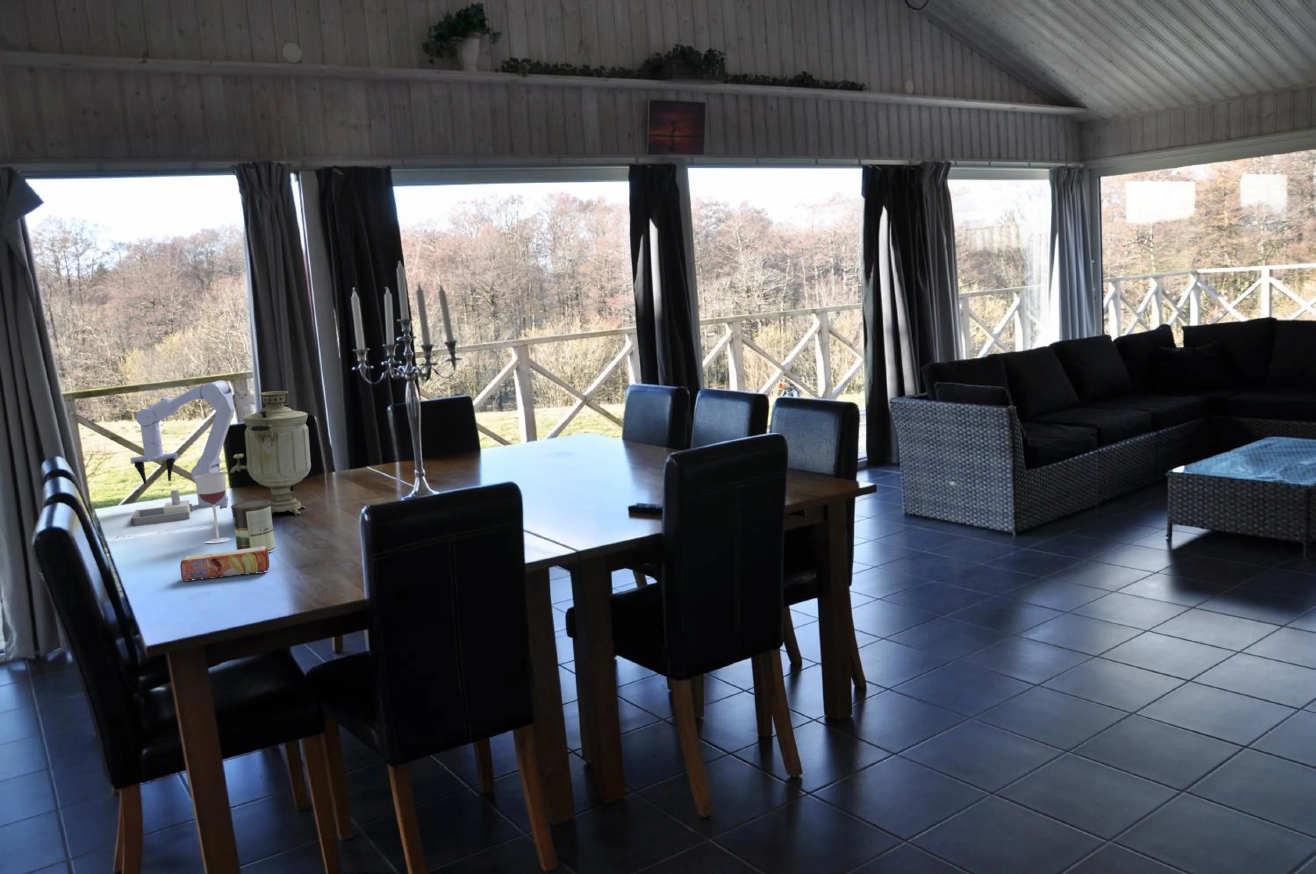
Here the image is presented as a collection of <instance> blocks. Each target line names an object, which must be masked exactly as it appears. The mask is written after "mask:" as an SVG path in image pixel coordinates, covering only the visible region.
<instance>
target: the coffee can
mask: <svg viewBox="0 0 1316 874" xmlns="http://www.w3.org/2000/svg"><path fill="white" fill-rule="evenodd" d="M270 503H271V500H268V499H252V500H250V499H249V500H244V501H240V502H236V503H234V504H231V506H230V508H231V512H232V513H231V514H232V520H233V529H234V535H235V536H234V537H235V544H236V550H240V549H247V548H256V547H262V546H265V547H266V548H267V550H268V551H271V550H273V549H275V550H276V544H275V536H274V527H273V518H272V514H271V508H270Z"/></svg>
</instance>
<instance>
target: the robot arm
mask: <svg viewBox="0 0 1316 874" xmlns="http://www.w3.org/2000/svg"><path fill="white" fill-rule="evenodd" d="M197 399H198V400H205V401H206V402H207V404H209V405H210V406H212V407H213V408H214V410H215V412H216V413H215V416H214V418H213V422H212V426H211V429H210V431H209V435H208V437H207V441H206V443H205V446H204V449H203V453H202V454H201V456H200V457H199V458H198V460H197V462H196V464H195V466H193V467H192V469H191V470H190V471H191V472H190V477H191V479H192V480H193V481H194V482H195V476H197V475H201V474H206V473H214V472H221V466H220V465H221V458H220V455H221V451H222V450H223V446H224V443H225V441H226V437H227V435H228V431H229V428H230V425H231V423H232V419H233V416H234V413H235V404H234V399H233V388H232V387H231V386H230V385H229V383H228V382H227V381H225V380H223V379H221V380H218V379H217V380H216V381H213V382H207V383H204V384H202V385H198V386H196V387H193V388H192V389H189V390H188V391H186V392H184V393H182V394H180V395H179V396H176V397H175V398H172V397H161V398H160V400H159V401H158V402H156V403H154V404H152V403H151V404H149V405H148V408H147V407H146V408H141V409H140V410H138V412H137V413H136V415H135V420H136V422H137V423H138V424H139V425H140V432H141V433H140V434H141V439H142V445H143V454H144V455H141V456H132V457H130V465H134V468H135V469H136V470H137V472H138V473H139V475H140V477H141V479H142V483H143V484H144V485H146V484H147V477H146V471H145V463H149V462H158V461H160V462H161V461H165V465H166V471H167V481H168V482H171V481H172V471H173V467H174V465H175V462H176V461H175V460H178V459H179V456H178V452H172V453H164V452H163V444H162V438H161V429H160V422H161V421H162V420H164V419H166V418H168V417H170V416H172V415H175V414H176V413H178V411H179V408H180V407H183V406H184V405H186V404H189V403H191V402H193V401H194V400H197ZM195 487H196V486H195ZM227 494H228V493H227V489H226V490H225V495H224V497H223V498H222V499H221V500H219V501H218V502H217V503H216V504H215V506H217V505H219V509H221V508H227V507H228V503H229V496H228V495H227ZM196 495H197V504H198V506H199V507H213V506H212V504H210V503H207V502H205V501H203V500H202V499H201V498H200V496H199V494H198V491H197V487H196Z"/></svg>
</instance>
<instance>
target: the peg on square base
mask: <svg viewBox="0 0 1316 874" xmlns="http://www.w3.org/2000/svg"><path fill="white" fill-rule="evenodd" d="M179 491H180V490H178V489H173V490H170V497H171V502H166V503H165V504H164V506H163V507H164V508H163V509H164V514H170V513H178V512H186V511H189V516H190V515H191V511H190V504H191V503H190V500H189V499H188V500H182V501H181V498H180V492H179Z"/></svg>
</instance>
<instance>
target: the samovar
mask: <svg viewBox="0 0 1316 874" xmlns="http://www.w3.org/2000/svg"><path fill="white" fill-rule="evenodd" d="M288 393H289V391H285V390H277V391H276V390H275V391H264V392H260V393H258V395H259V396H260V397H261V398H262V399H261V400H262V403H263V404H264V406H265V407H262V408H261V409H259V410H258V412H254V413H249V414H246V415H244V416H242V420H243V423H244V424H245V426H246V428H245V430H244V438H245V448H246V450H245V451H246V465H242V464H241V458H243V457H244V456H245V455H244V454H243V453H236V454H234V455H233V457H232V458H233V459H237V463H236V464H235V465H234V466H233V467H231V469H230V471H229V473H231V474H232V473H235V471H237V472H241V471H242V470H245V469H246V471H247V472H248V475H249V476H250V477H251V478H252V479H253V481H256V482H257V484H259V485H261V486H264V487H267V488H269V489H270V494H271V495H273V496H274V497H275V499H272V500H270V508H271V515H272V514H273V513H275V512H277V513H280V512H282V513H283V512H286V511H289V512H291V513H294V516H298V515H297V514H300V513H301V511H299V509H302V508H301V507H304V509H306V507H305V506H304V505H302V504H301V502H300V501H299V500H297V499H296V497H292V496H291V495H292V493H294V492H295V490H294V486H295V485H296V484H298V483H300V482H301V481H303V479H304V478H305V477H307V476H308V475H309V473H310V471H311V467H312V463H311V451H310V447H311V446H310V436H309V426H308V425H307V424H306V422H307V419H308V414H309V413H307V412H305V411H301V410H299V411H298V410H293V409H292V408H290V407H289V404H288V403H285V402H286V395H287V394H288ZM300 515H301V514H300Z"/></svg>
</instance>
